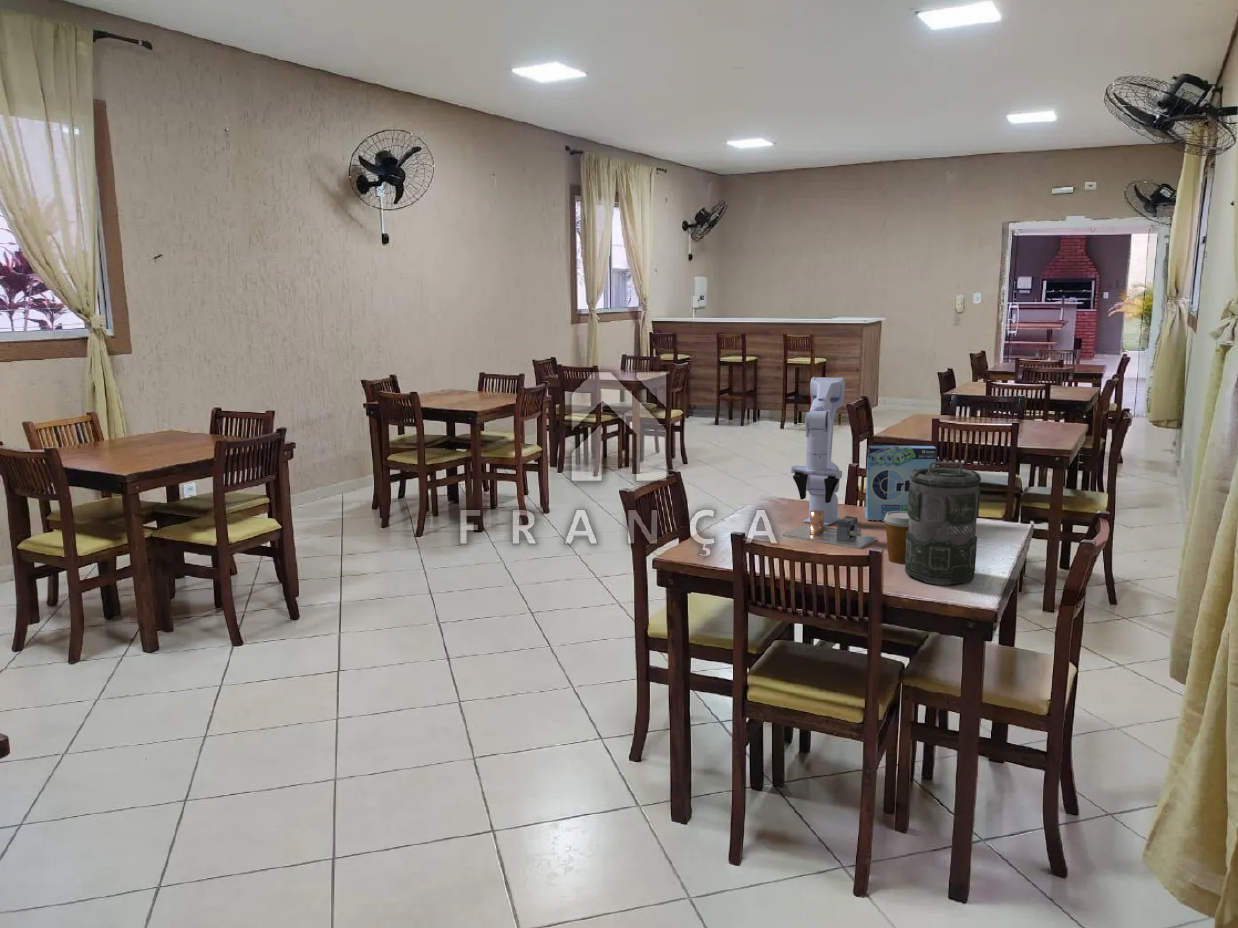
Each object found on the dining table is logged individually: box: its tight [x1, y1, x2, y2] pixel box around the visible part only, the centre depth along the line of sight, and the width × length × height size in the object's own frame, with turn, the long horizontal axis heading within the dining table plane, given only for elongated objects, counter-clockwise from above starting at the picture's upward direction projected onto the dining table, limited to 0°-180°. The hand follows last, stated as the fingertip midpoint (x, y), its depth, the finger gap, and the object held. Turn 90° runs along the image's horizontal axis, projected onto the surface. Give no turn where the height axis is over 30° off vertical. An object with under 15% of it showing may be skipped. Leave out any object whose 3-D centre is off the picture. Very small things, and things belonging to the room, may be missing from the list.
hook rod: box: [809, 510, 863, 537], centre depth 240 cm, size 15×4×6 cm, turn 52°
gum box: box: [864, 444, 937, 522], centre depth 259 cm, size 19×5×23 cm, turn 82°
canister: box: [904, 461, 982, 586], centre depth 203 cm, size 16×16×28 cm
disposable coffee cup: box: [884, 511, 909, 565], centre depth 218 cm, size 10×10×12 cm
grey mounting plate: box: [782, 515, 878, 550], centre depth 241 cm, size 12×23×6 cm, turn 52°
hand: (815, 500), depth 242 cm, fingers open, 7 cm apart
